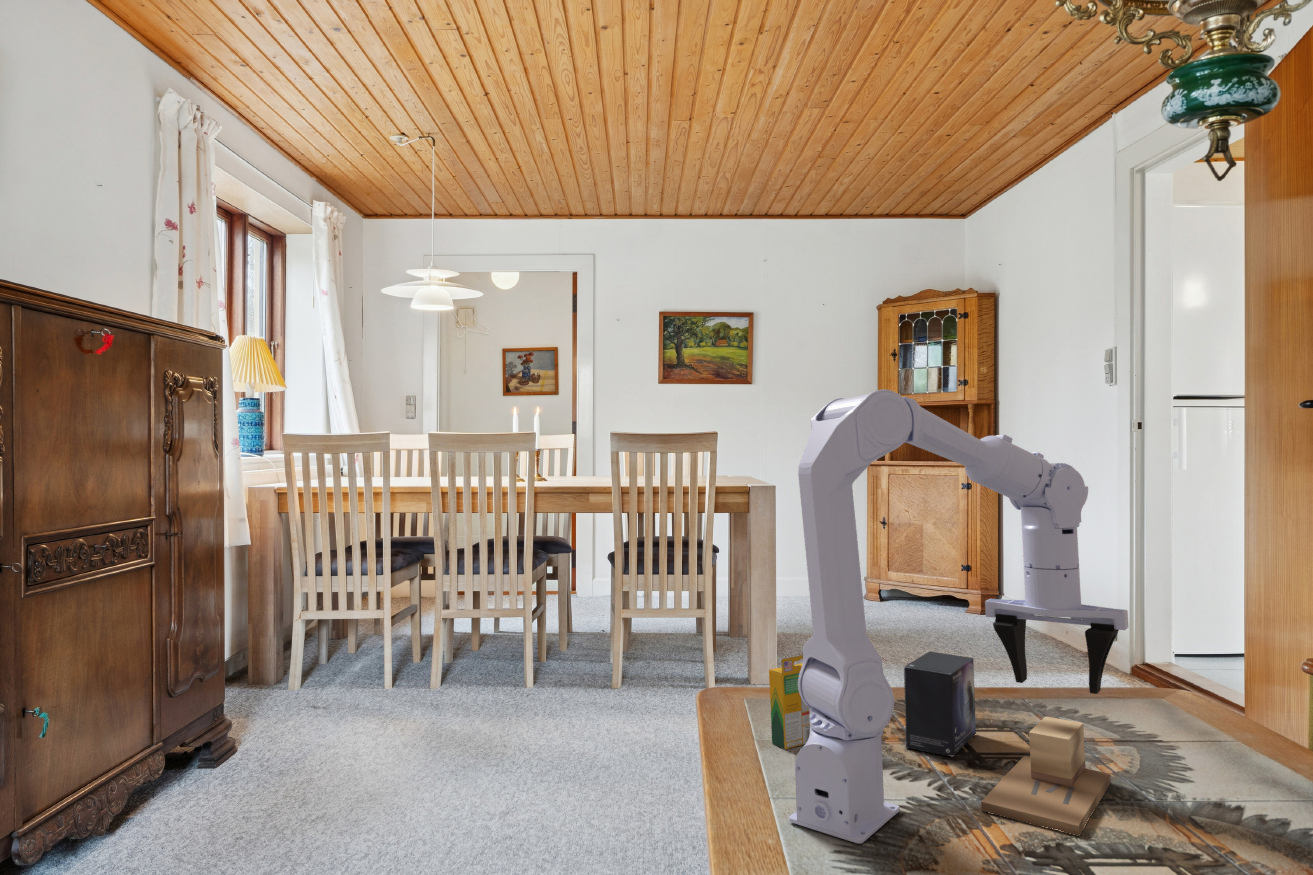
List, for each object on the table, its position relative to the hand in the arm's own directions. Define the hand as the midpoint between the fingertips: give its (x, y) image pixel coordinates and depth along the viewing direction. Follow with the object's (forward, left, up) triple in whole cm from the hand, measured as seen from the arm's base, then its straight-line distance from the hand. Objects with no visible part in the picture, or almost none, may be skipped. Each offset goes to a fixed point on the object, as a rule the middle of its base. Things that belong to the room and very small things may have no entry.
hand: (1057, 685), depth 86 cm
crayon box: (-7, +30, -11) cm, 33 cm away
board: (-6, 0, -10) cm, 12 cm away
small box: (+4, +15, -11) cm, 19 cm away
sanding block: (-1, 0, -9) cm, 9 cm away
